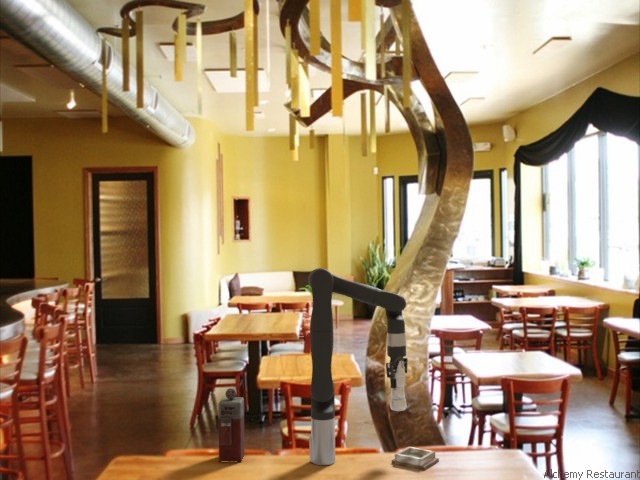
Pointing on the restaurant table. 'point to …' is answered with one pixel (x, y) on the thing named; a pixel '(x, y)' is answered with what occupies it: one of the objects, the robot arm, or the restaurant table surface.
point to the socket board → (415, 458)
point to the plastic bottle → (398, 391)
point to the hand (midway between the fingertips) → (397, 386)
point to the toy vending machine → (231, 427)
